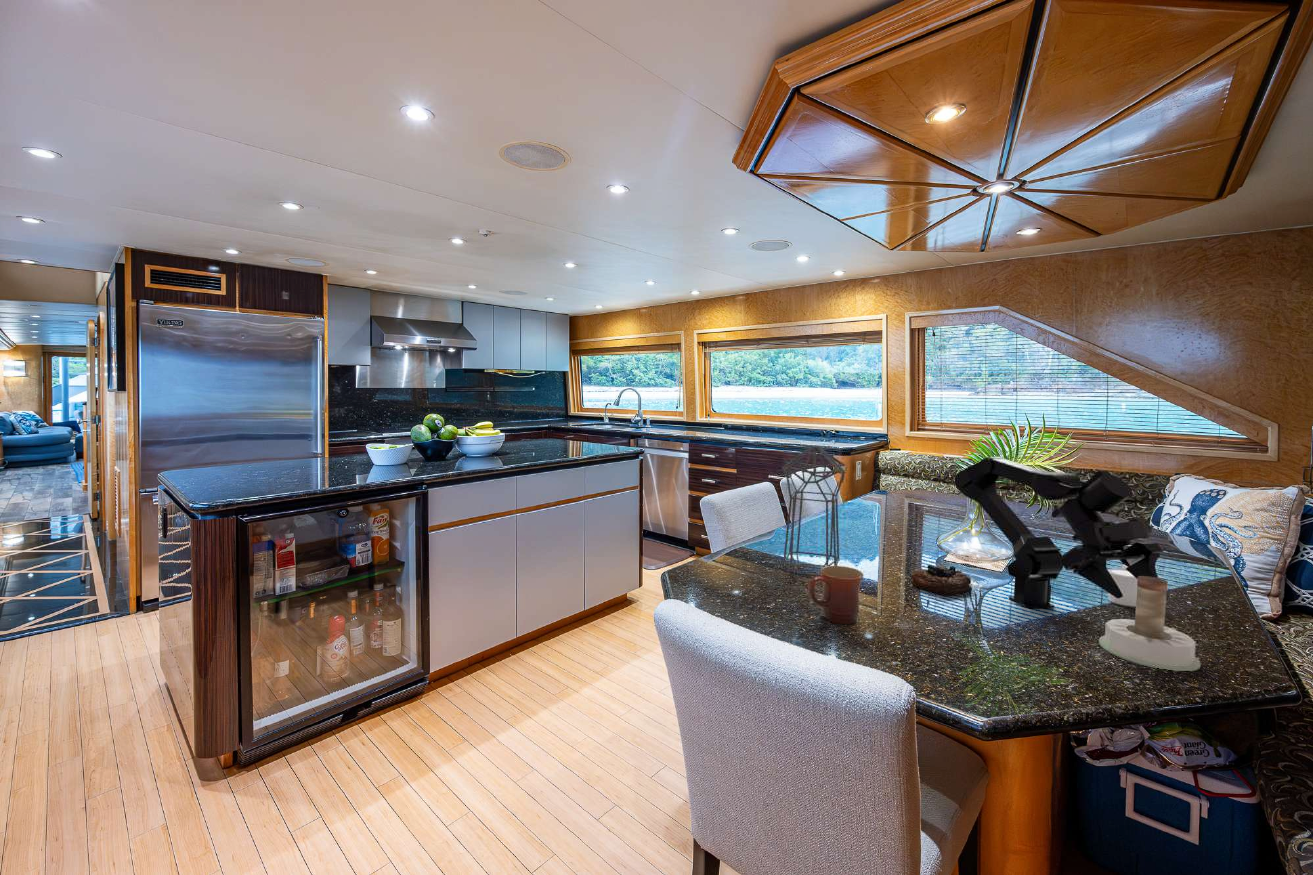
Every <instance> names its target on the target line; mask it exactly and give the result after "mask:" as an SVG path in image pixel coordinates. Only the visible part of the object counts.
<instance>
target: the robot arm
mask: <svg viewBox="0 0 1313 875" xmlns="http://www.w3.org/2000/svg"><path fill="white" fill-rule="evenodd" d="M1000 478H1004V479H1006V480H1010V481H1012V482H1016V483H1019V484H1021V485H1023V486H1026V487H1028V488H1030V489H1031V490H1032V492H1033V493H1035V495H1038V496H1040V497H1042V499H1045V500H1047V501H1064V502H1063V503H1061V504H1055V505H1053V510H1052V512H1051V518H1053V519H1054V518H1056V519H1057V518H1064V520H1065V521H1066V523H1067V524H1068V525H1069V528H1071V530H1072V531H1073V533H1074V534H1073V535H1072V536H1071V538H1072V539H1073V541H1074V542H1079V541H1080V542H1081V544H1076V545H1075V546H1073V547H1072V548H1071V549H1070V550H1068V551H1067V552H1065V553H1064V554H1062V553H1061V551H1062V549H1061V548H1059V547H1058V546H1056V544H1055V543H1054V541H1053V540H1052V538H1050V537H1049V536H1036V535H1035V534H1033V532H1032V531H1030V529H1029V528H1028V527H1027V526H1026V525H1025V523H1024V521H1022V520H1021V519H1020V518H1019V516H1018V515H1017V514H1016V513H1015V512H1014V511H1013V509H1011V508H1010V506H1009V505H1008V504H1007V503H1006V502H1005V500H1003V498H1002V497H1001V496H1000V495H999V494H998V492H997V483H996V482H998V481H999V480H1000ZM954 485H955V487H956V489H957V491H959V492H960V493H961V495H964V497H966V498H968V499H970V500H972V501H974V502H976V503H977V504H978V505H980V507H981V508H982V510H983V511H984V512H985V513H986V514H987V515H988V517H989V518H990V519H991V520H992V522H993V523H994V524H995V525H996V527H997V528H998V529H999V530H1000V531H1001V532H1002V534H1003V536H1004V537H1005V538H1006V539H1007V540H1008V541H1009V542H1010V544H1012V547H1013V550H1012V551H1013V558H1014V560H1013V561H1011V563H1009V564H1008V565H1007V566H1006V567H1007V572H1008V575H1009V576H1010V577H1013V578H1014V587H1013V588H1014V589H1013V590H1014V591H1013V595H1009V596H1008V599H1009V600H1011V601H1013V602H1016V603H1017V604H1019V605H1021V606H1024V607H1025V608H1027V609H1046V608H1047V609H1050V608H1051V609H1052V608H1055V605H1054V604H1053V603H1051V602H1052V601H1051V599H1052V598H1051V597H1052V596H1051V595H1052V584H1051V580H1057V579H1058V577H1059V574H1061V572H1062V570H1063V569H1065V570H1066V571H1072V573H1073V574H1076V575H1078V576H1080V577H1083V578H1084V579H1086V580H1087V581H1089V582H1091V583H1093V584H1094V585H1096V586H1098V587H1099V588H1100V589H1102V590H1103V591H1105V592H1107V594H1108V593H1110V594H1111V595H1113V596H1114V597H1116V598H1118V599H1119V598H1121V597H1123V595H1122V593H1121V591H1120V589H1119V587H1118V585H1117V584H1116V582H1115V581H1114V579H1113V578H1112V576H1111V574H1110V573H1109V571H1108V570H1107V569H1108V568H1107V561H1117V560H1119V561H1120V562H1121V564H1122V565H1123V564H1124V565H1126V566H1127V568H1126V570H1127V571H1128V572H1130V573H1131V574H1132V575H1133V576H1134V577H1135V578H1136V579H1138V576H1149V577H1155V578H1159V577H1158V573H1157V569H1156V563H1157V561H1158V559H1160V558H1161V554H1164V550H1163V549H1162V548H1161V547H1160V545H1159V544H1158V543H1157V542H1153V541H1137V542H1134V543H1133V544H1132V541H1131V540H1137V539H1149V538H1150V535H1149V534H1151V533H1152V531H1153V527H1152V525H1151V524H1150V523H1149V522H1148V521H1147V520H1146V519H1144V517H1134V518H1130V519H1128V521H1124V522H1119V523H1118V522H1117V523H1115V522H1113V521H1106V520H1105V519H1104V518H1103V516H1102V515H1101V514H1100V513H1103V514H1104V513H1109V512H1110V511H1112V510H1113V509H1115V508H1116V507H1117V506H1119V505H1120V504H1122V503H1123V502H1124V501H1125V500H1127V499H1128V498H1129V497H1131V496H1132V494H1133V491H1132V490H1133V489H1132V487H1131V486H1130V485H1129V483H1127V482H1126V481H1124V480H1123V479H1121V478H1119V477H1118V476H1115V475H1113V474H1111V473H1110V472H1109V471H1108V470H1098V471H1095V473H1094V474H1093V476H1091V477H1090V478H1089V479H1088V480H1087V481H1084V480H1081V477H1080V476H1078V475H1077V474H1074V473H1066V472H1058V471H1045V470H1040V469H1038V468H1035V467H1031V466H1029V465H1028V466H1027V465H1025V464H1022V463H1019V462H1015V461H1011V460H1008V459H1007V458H1005V457H1003V456H986V457H984V458H982V459H981V460H979V461H978V462H976V463H974V464H972V465H970V466H968V467H965V468H964V469H963V470H960V471H957V474H956V476H954ZM1130 544H1131V545H1130ZM1129 545H1130V546H1129ZM1126 546H1127V547H1126ZM1125 547H1126V548H1125Z"/></svg>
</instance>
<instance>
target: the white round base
mask: <svg viewBox="0 0 1313 875" xmlns="http://www.w3.org/2000/svg"><path fill="white" fill-rule="evenodd" d="M1134 628H1135V619H1128V618H1120V619H1113V618H1112V619H1110V620H1108V621H1107V622H1105V627H1104V635H1101V636H1100V637H1099V639H1098V643H1099V646H1100V647H1101V648H1102V649H1104V651H1106V652H1108V653H1110V654H1112V655H1114V656H1116V657H1118V658H1120V659H1123V660H1124V661H1125V660H1126V661H1128V662H1131V663H1133V664H1137V665H1142V666H1144V667H1148V668H1153V669H1157V668H1159V669H1158V670H1162V669H1167V670H1166V671H1168V670H1173V671H1172V672H1178V671H1190V672H1195V671H1198V670H1200V668H1201V661H1200V660H1199V658H1198V657H1196V656H1195V655H1196V644H1197V642H1196V641H1195V640H1194V639H1193V638H1192V637H1190V636H1189V635H1187V634H1186V633H1184V632H1181V631H1178V630H1175V629H1173V628H1171V627H1168V626H1164V633H1163V640H1159V639H1153V638H1148V637H1144V636H1140V635H1137V634H1135V633H1134Z"/></svg>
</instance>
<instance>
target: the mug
mask: <svg viewBox="0 0 1313 875" xmlns="http://www.w3.org/2000/svg"><path fill="white" fill-rule="evenodd" d="M819 572H820V573H819V574H821V576H817V575H816V576H813V577H812V578H810V579H809V580H808V581H809V582H808V586H807V587H808V588H807V590H808V595H809V597H810V600H811V602H813V603H814V604H816V605H818V606H820V607H821V609H822V610H821V611H822V615H823V617H824V618H825V619H826V620H827V621H829V622H831V623H834V624H839V625H850V624H853V623H855V622H857V620H858V617H859V612H860V586H861V583H862V580H863V578H864V573H863V572H862V571H860V570H858V569H857V568H853V567H850V566H841V565H837V566H834V565H831V566H827V567H821V569H819ZM819 581H820V582H823V583H822V586H823V587H822V599H817V598H816V592H815V585H816V584H817V583H816V582H819Z"/></svg>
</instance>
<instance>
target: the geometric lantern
mask: <svg viewBox="0 0 1313 875" xmlns="http://www.w3.org/2000/svg"><path fill="white" fill-rule="evenodd" d="M807 455H808V456H807ZM817 455H818V458H819V459H820V461H821V464H822V465H821V464H817ZM805 456H807V460H806V461H805V462H800V460H801V459H803V458H804V457H805ZM812 456H813V460H812V461H813V463H812V464H809V462H810V459H811V458H812ZM823 457H824V459H825V460H826V461H827V462H828V463H829V464H825V462H824V459H823ZM795 465H796V466H797V467H793V466H795ZM798 467H799V468H798ZM807 467H812V468H813V471H812V470H808V468H807ZM831 467H832V468H833V469H832V470H827V468H831ZM817 468H822V469H823V470H822V471H817ZM846 468H847V465H846V464H845V463H843V462H842V461H841V460H839V459H838V458H836V457H835V456H833V455H831V454H830V453H829V452H827V451H826V450H824V449H823V448H822V447H821V446H818V445H811V446H809V447H808V448H807V449H805V450H803V451H802V452H801V453H799V454H797V455H796V456H795V457H793V458H792V459H791V460H789V461H787V463H786V464H785V465H783V466H782V467H781V469H782V470H783V471H784V474H785V478H786V482H787V488H788V496H789V504H788V505H789V506H788V514H787V523H786V531H785V532H786V533H785V542H784V552H783V558H782V559H783V564H784V565H785V566H786V567H788V568H789V569H790V570H791V571H792V572H793V577H794V578H795V579H798V580H800V576H799V574H801V575H802V574H803V575H812V576H816V577H817V576H821V573H814V572H800V571H798V572H797V570H800V567H801V568H807V569H814V570H815V572H820V569H821V568H823V567H827V566H838V565H839V561H840V540H839V537H840V536H839V534H840V533H839V513H838V512H839V511H838V510H839V508H838V507H839V504H838V495H839V493H840V489H841V486H842V484H843V483H844V482H843V481H844V480H845V473H846ZM795 471H798V472H799V471H800V472H801V473H802V477H801V476H800V475H799V474H797V472H795ZM805 473H808V474H809V475H810V476H809V477H808V479H807V481H806V478H805ZM837 474H841V476H840V480H839V481H837V484H836V487H835V489H834V491H833V490H832V489H831V487H830V485H829V483H828V481H827V479H829V478H830V477H833V476H835V475H837ZM792 475H794V476H795V477H797V478H798V479H799V480H800V481H802V483H801V485H800V486H799V487H798V489H797V488H796V485H795V483H794V481H793V480H794V479H793V478H792ZM813 477H814V478H813ZM812 478H813V479H814V480H811V479H812ZM816 478H819V479H816ZM790 480H791V483H792V485H793V487H794V490H795V491H793V492H791V486H790V485H791V484H790ZM822 481H824V483H825V484H826V485H827V488H829V491H830V493H829V492H824V491H823V489H822V488H821V486H820V484H819V483H820V482H822ZM808 484H816V485H817V488H818V490H819V491H820V492H813V491H804V490H805V488H806V487H807V486H808ZM798 494H800V497H797V496H798ZM804 494H811V495H812V494H817V495H822V497H823V498H824V500H823V499H813V498H811V499H810V498H803V497H804ZM826 495H829V496H831V499H830V500H829V499H828V498H827V496H826ZM797 500H799V514H798V515H799V516H798V529H797V538H796V540H797V541H796V542H797V543H796V551H795V550H794V535H795V534H794V530H795V528H794V526H795V515H796V508H797V507H796V506H797ZM803 501H811V502H821V503H822V502H823V503H825V553H819V552H809V551H800V550H799V548H800V537H801V523H802V513H803V509H802V508H803ZM829 503H831V513H830V514H831V518H830V519H831V520H830V539H829ZM790 521H791V530H790ZM789 530H790V539H789ZM789 540H790V541H789ZM829 540H830V541H829ZM788 541H789V548H788ZM829 542H830V544H829ZM787 549H788V550H787ZM787 551H788V553H787ZM794 554H796V559H795V558H794V556H793V555H794ZM798 554H803V555H811V556H821V557H825V563H824V565H823V564H815V563H814V564H812V563H801V562H800V560H799V555H798ZM788 558H790V559H789V561H787V560H788ZM830 558H833V561H832V562H831V563H829V560H830ZM793 562H794V563H793ZM816 570H817V571H816ZM818 570H819V571H818ZM796 575H797V576H796ZM819 582H820V583H819V584H823V582H822V581H819Z"/></svg>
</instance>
